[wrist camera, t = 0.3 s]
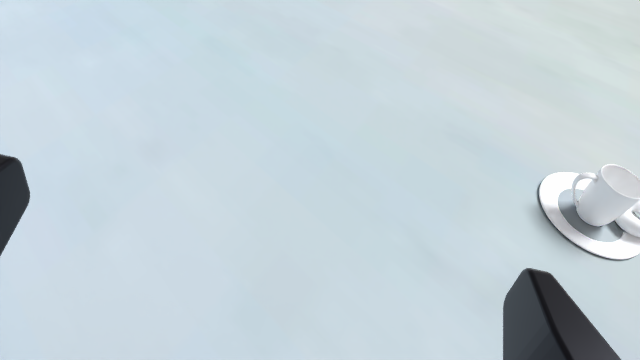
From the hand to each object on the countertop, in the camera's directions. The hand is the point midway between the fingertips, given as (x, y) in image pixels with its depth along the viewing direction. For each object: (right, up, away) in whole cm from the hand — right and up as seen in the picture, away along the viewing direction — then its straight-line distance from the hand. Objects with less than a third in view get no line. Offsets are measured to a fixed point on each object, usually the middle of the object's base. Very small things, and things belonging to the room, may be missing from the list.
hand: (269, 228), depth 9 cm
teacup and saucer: (+22, -4, +27) cm, 35 cm away
